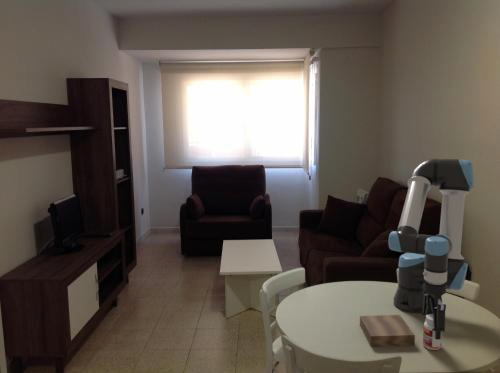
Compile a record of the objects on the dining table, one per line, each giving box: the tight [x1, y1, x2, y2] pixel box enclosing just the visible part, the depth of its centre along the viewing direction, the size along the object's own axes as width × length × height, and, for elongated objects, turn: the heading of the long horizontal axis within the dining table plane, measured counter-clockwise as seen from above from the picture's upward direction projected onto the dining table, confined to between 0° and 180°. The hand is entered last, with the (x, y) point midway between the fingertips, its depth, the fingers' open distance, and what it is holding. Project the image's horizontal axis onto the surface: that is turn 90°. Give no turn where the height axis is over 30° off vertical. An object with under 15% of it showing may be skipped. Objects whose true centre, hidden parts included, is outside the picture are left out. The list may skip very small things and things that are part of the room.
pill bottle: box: [422, 314, 443, 351], centre depth 159 cm, size 6×6×11 cm
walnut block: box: [359, 314, 416, 347], centre depth 168 cm, size 16×16×4 cm
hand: (432, 341), depth 159 cm, fingers closed on pill bottle, 6 cm apart
